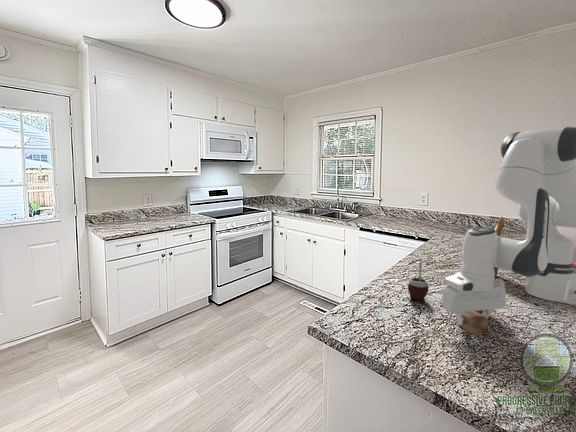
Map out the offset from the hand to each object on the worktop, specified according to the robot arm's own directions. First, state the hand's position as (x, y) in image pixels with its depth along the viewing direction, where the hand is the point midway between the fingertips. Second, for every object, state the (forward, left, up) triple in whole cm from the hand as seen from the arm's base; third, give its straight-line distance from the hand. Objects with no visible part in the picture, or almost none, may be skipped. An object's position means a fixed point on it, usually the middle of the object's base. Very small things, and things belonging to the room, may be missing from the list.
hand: (472, 322), depth 93 cm
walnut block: (0, 0, -2) cm, 2 cm away
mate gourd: (+4, -22, -2) cm, 22 cm away
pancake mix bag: (-44, -37, -2) cm, 58 cm away
